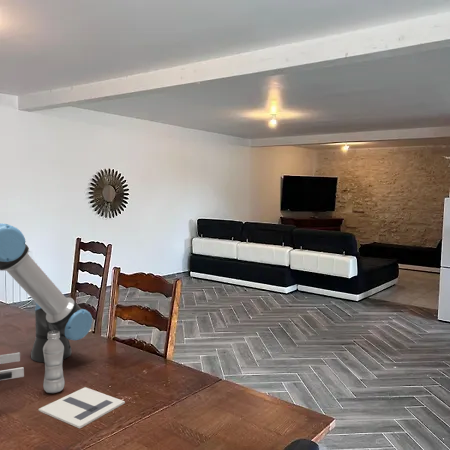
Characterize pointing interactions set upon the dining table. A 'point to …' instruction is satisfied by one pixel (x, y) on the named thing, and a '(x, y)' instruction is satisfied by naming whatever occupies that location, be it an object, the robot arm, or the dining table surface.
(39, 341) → the robot arm
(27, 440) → the dining table surface
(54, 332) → the plastic bottle
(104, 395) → the letter board
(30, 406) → the dining table surface
